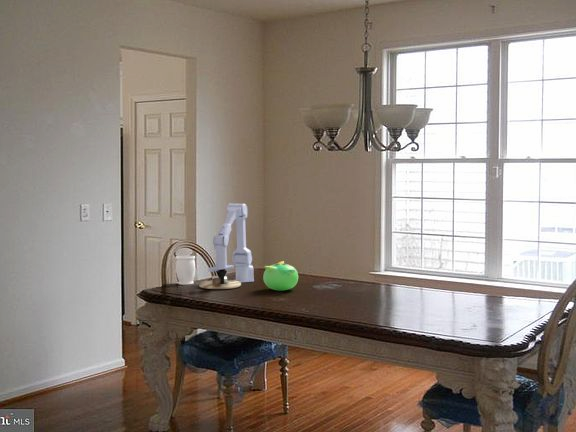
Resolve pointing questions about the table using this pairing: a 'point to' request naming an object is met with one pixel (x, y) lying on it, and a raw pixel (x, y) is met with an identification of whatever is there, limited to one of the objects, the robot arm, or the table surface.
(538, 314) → the table surface
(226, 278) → the cover
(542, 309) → the table surface
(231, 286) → the disc
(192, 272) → the jar
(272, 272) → the green tomato
